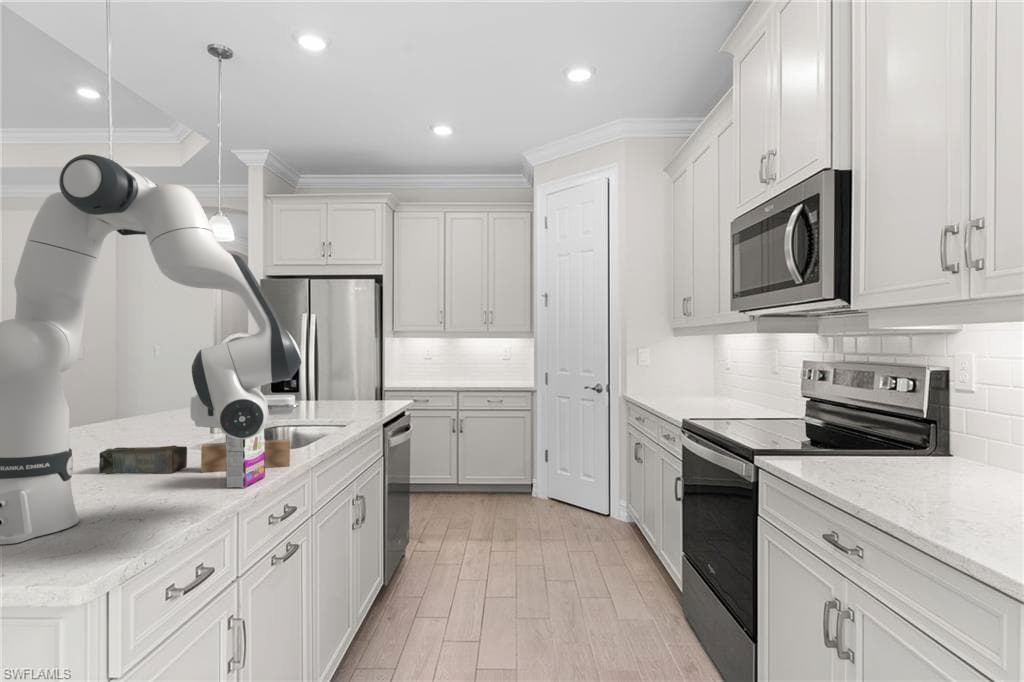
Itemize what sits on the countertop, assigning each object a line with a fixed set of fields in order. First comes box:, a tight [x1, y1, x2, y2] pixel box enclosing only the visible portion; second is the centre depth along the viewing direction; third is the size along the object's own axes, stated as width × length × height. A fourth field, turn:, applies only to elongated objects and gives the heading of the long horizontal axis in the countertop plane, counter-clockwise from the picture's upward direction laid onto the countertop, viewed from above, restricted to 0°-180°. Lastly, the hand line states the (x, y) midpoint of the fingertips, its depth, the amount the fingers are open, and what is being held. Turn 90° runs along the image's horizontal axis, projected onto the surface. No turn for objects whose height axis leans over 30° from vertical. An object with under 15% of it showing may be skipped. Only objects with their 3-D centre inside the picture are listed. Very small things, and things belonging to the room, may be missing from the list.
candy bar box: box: [225, 426, 266, 489], centre depth 144 cm, size 11×5×16 cm, turn 179°
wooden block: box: [200, 438, 291, 473], centre depth 160 cm, size 22×4×7 cm, turn 114°
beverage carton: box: [98, 444, 188, 474], centre depth 156 cm, size 8×19×7 cm, turn 94°
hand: (245, 401), depth 128 cm, fingers closed
